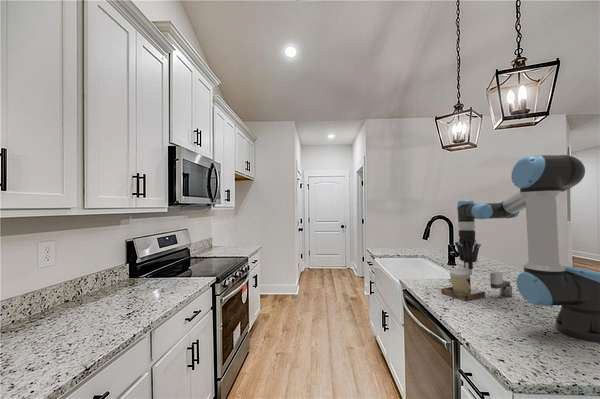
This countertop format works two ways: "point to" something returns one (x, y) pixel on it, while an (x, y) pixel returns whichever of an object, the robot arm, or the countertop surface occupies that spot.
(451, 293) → the brown u-shaped wooden bracket
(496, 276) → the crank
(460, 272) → the coffee cup
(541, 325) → the countertop surface
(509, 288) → the pedestal
